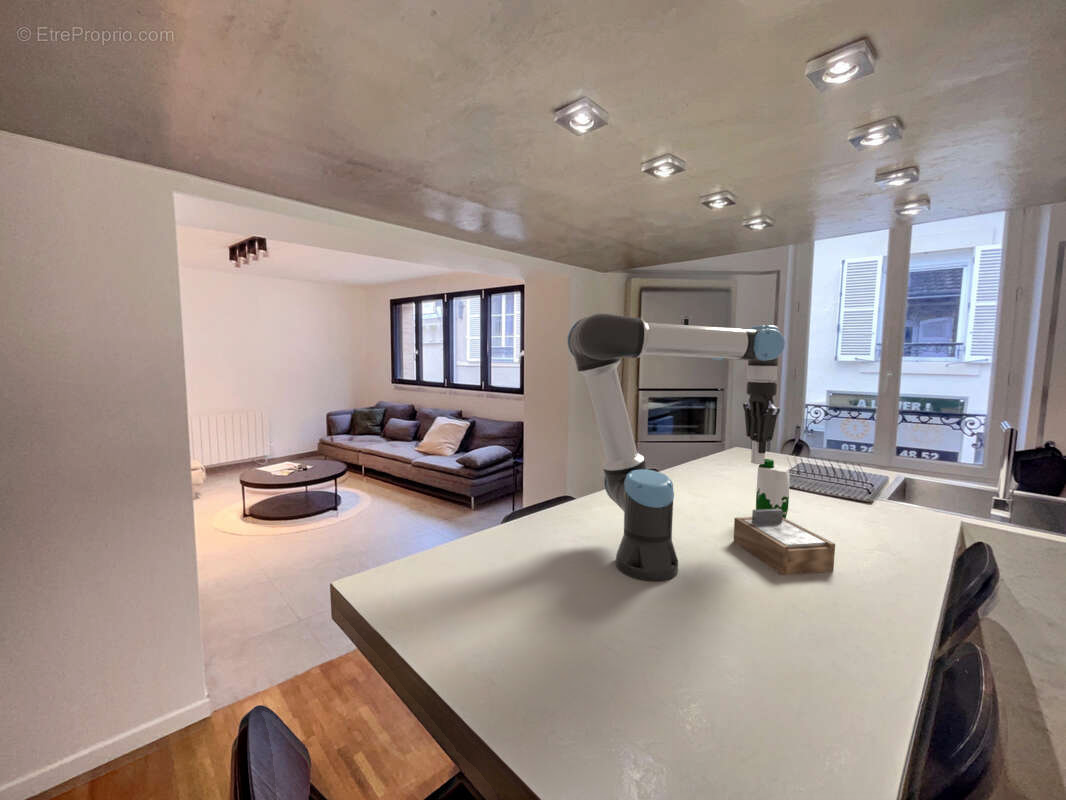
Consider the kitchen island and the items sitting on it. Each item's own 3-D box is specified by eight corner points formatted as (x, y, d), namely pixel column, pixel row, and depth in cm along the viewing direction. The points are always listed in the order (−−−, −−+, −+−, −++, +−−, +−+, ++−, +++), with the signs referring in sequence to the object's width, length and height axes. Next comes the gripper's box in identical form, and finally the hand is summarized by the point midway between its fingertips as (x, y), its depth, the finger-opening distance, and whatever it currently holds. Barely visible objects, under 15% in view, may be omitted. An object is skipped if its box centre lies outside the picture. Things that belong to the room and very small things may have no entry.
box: (781, 574, 108) (783, 547, 107) (733, 541, 128) (734, 517, 127) (833, 571, 110) (835, 543, 109) (777, 538, 130) (779, 515, 129)
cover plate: (785, 548, 109) (786, 531, 108) (743, 523, 125) (744, 508, 125) (825, 546, 110) (826, 528, 110) (778, 521, 127) (779, 506, 127)
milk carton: (758, 515, 149) (761, 456, 147) (789, 521, 144) (792, 460, 142) (752, 523, 142) (755, 461, 140) (784, 529, 137) (788, 465, 135)
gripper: (791, 382, 119) (786, 468, 121) (758, 380, 133) (754, 457, 135) (765, 382, 118) (761, 469, 120) (735, 380, 132) (731, 458, 134)
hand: (757, 463), depth 128 cm, fingers closed
